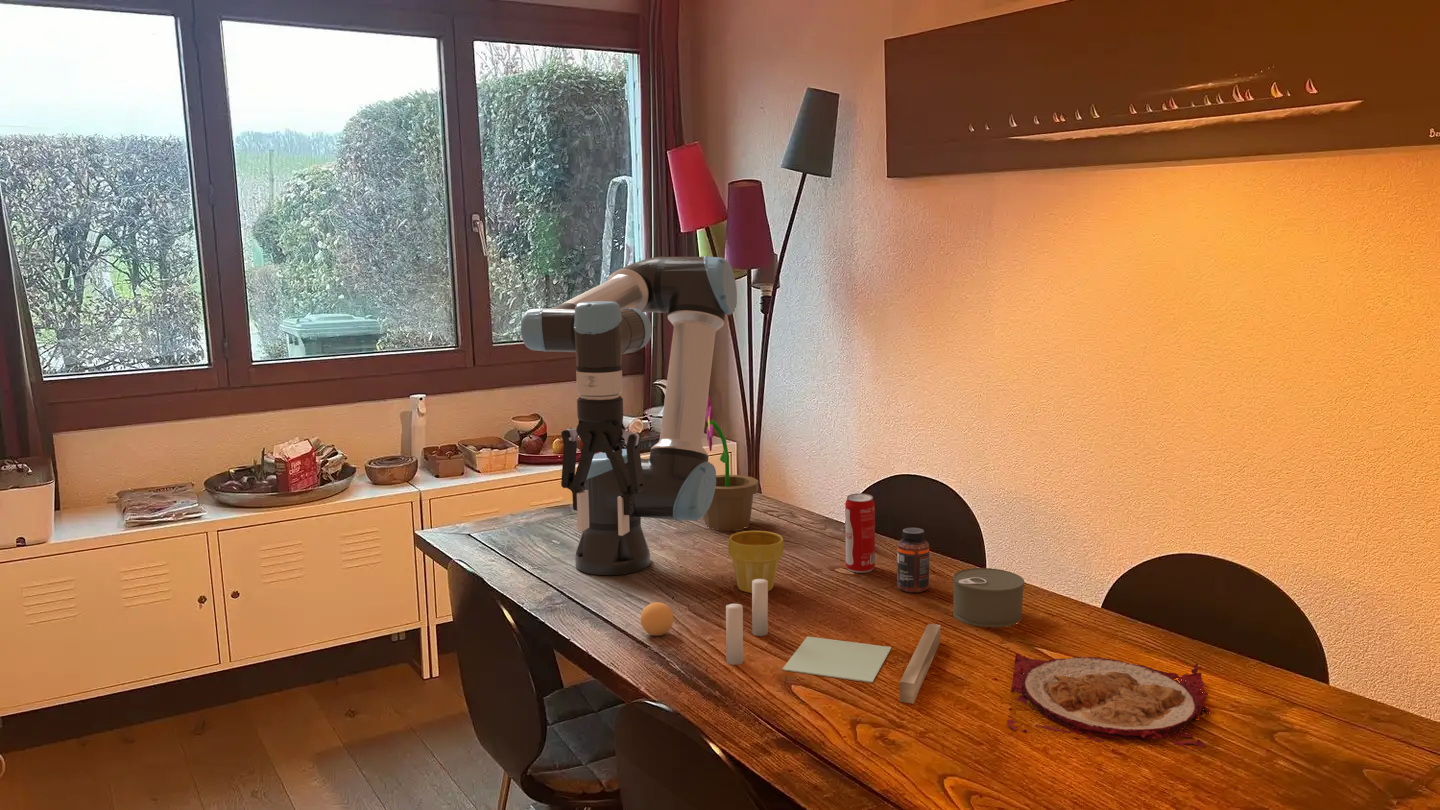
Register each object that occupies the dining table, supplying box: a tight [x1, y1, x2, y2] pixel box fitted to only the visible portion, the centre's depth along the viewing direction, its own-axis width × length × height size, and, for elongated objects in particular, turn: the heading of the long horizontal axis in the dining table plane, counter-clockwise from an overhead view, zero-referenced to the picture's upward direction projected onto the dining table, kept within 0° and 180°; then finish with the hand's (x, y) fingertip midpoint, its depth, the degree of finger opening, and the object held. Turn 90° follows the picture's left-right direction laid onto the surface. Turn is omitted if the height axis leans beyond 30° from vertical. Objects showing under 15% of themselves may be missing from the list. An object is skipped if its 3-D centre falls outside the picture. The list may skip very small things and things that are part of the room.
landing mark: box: [781, 635, 892, 684], centre depth 166 cm, size 14×14×1 cm
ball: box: [640, 601, 674, 637], centre depth 176 cm, size 6×6×6 cm
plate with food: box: [1006, 653, 1211, 750], centre depth 149 cm, size 25×26×4 cm
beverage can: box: [844, 492, 876, 574], centre depth 208 cm, size 6×6×15 cm
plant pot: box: [728, 530, 784, 594], centre depth 199 cm, size 10×10×10 cm
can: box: [952, 567, 1025, 629], centre depth 183 cm, size 12×12×7 cm
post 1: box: [725, 603, 744, 666], centre depth 164 cm, size 3×3×9 cm
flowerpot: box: [703, 395, 759, 531], centre depth 240 cm, size 14×14×30 cm
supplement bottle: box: [896, 527, 930, 594], centre depth 197 cm, size 6×6×11 cm
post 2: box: [751, 579, 769, 637], centre depth 176 cm, size 3×3×9 cm
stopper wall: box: [899, 623, 941, 705], centre depth 161 cm, size 2×24×3 cm, turn 160°
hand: (603, 531), depth 177 cm, fingers open, 7 cm apart
